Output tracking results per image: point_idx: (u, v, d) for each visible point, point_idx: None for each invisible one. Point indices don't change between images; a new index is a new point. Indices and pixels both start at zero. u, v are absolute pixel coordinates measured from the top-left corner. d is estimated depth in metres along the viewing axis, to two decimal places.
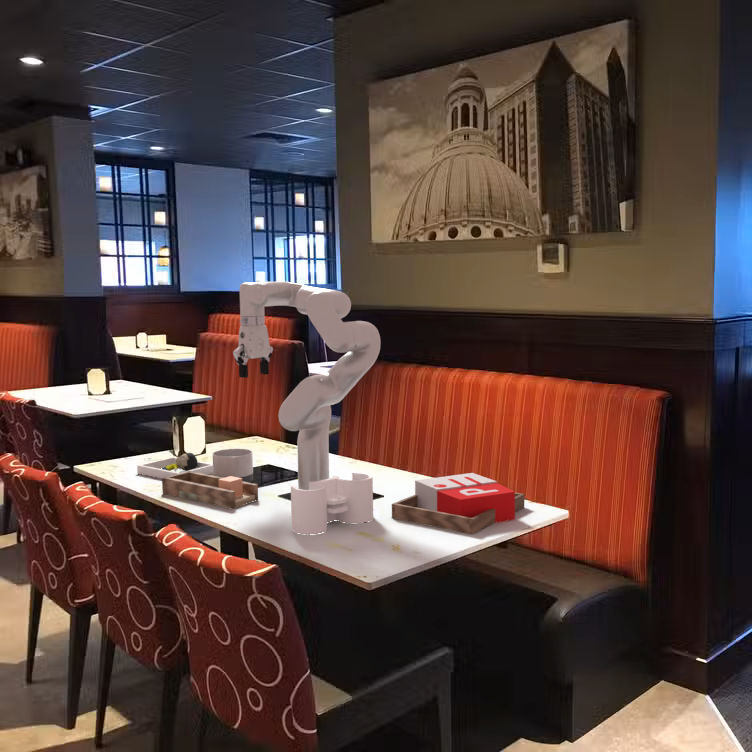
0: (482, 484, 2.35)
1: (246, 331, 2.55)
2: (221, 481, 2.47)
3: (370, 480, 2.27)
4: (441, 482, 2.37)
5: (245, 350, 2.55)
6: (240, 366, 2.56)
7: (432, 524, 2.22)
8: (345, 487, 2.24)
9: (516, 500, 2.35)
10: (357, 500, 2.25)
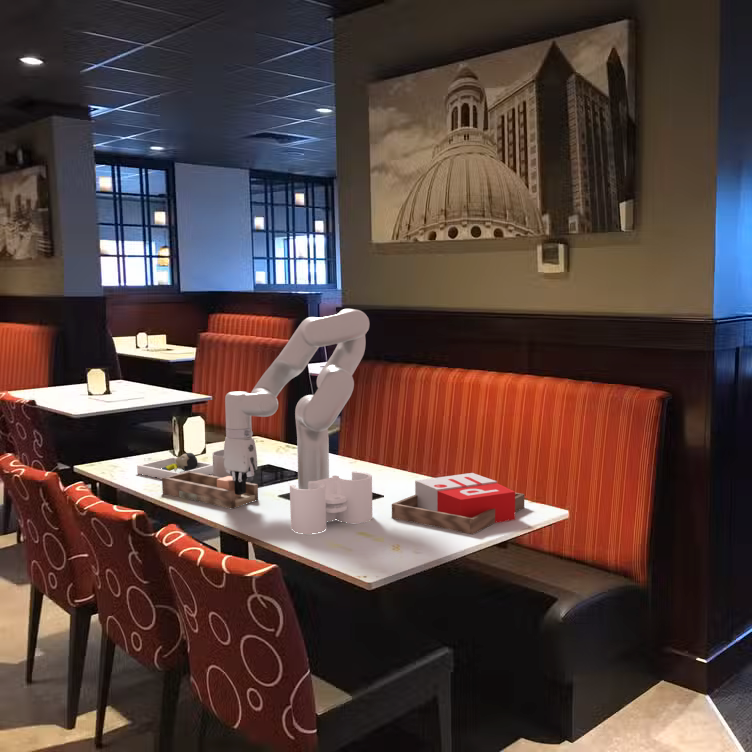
0: (482, 484, 2.35)
1: (253, 443, 2.43)
2: (219, 481, 2.47)
3: (369, 480, 2.27)
4: (441, 482, 2.36)
5: None
6: (243, 483, 2.44)
7: (432, 524, 2.22)
8: (344, 487, 2.25)
9: (516, 500, 2.35)
10: (357, 500, 2.25)
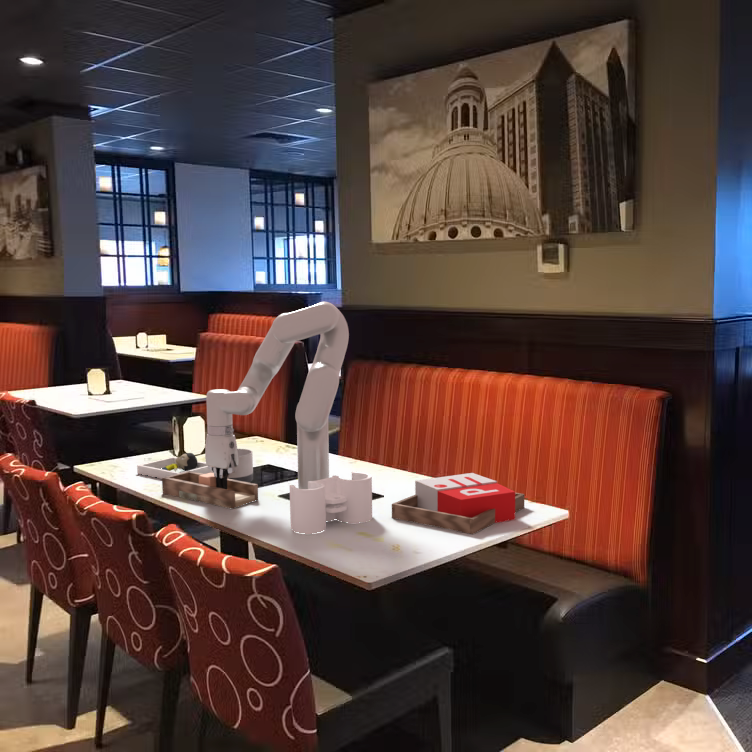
0: (482, 484, 2.35)
1: (234, 440, 2.47)
2: (201, 477, 2.52)
3: (369, 480, 2.27)
4: (441, 482, 2.36)
5: None
6: (224, 479, 2.49)
7: (432, 524, 2.22)
8: (344, 487, 2.25)
9: (516, 500, 2.35)
10: (356, 500, 2.25)
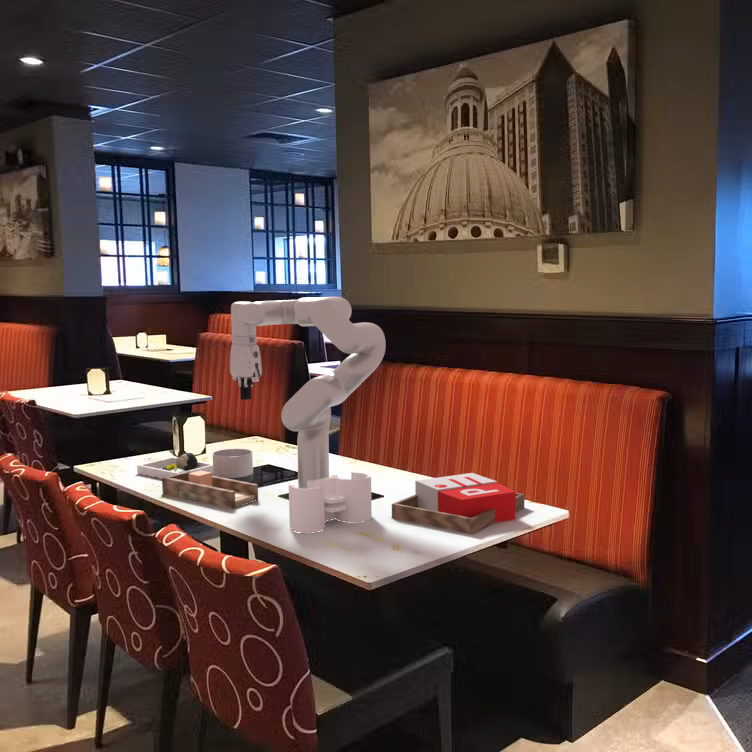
0: (482, 484, 2.35)
1: (258, 350, 2.56)
2: (191, 475, 2.55)
3: (368, 479, 2.28)
4: (441, 482, 2.36)
5: None
6: (248, 388, 2.58)
7: (432, 524, 2.22)
8: (343, 486, 2.26)
9: (516, 500, 2.35)
10: (355, 499, 2.25)
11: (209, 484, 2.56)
